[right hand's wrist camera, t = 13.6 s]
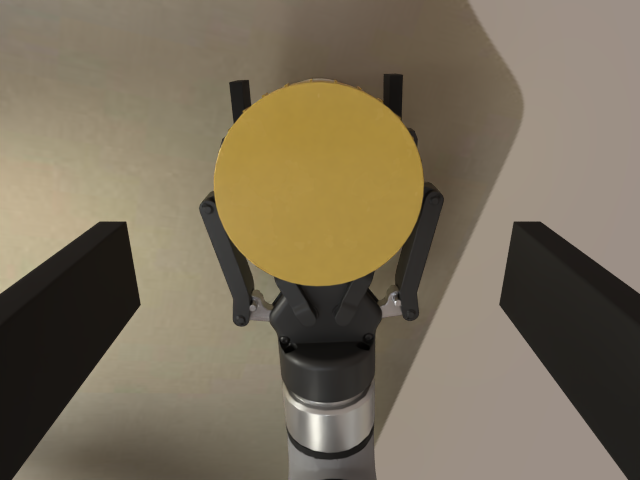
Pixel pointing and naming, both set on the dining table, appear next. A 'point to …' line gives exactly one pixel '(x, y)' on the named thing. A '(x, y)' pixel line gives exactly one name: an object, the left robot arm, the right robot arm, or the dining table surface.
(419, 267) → the left robot arm
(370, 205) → the lid
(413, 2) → the dining table surface
